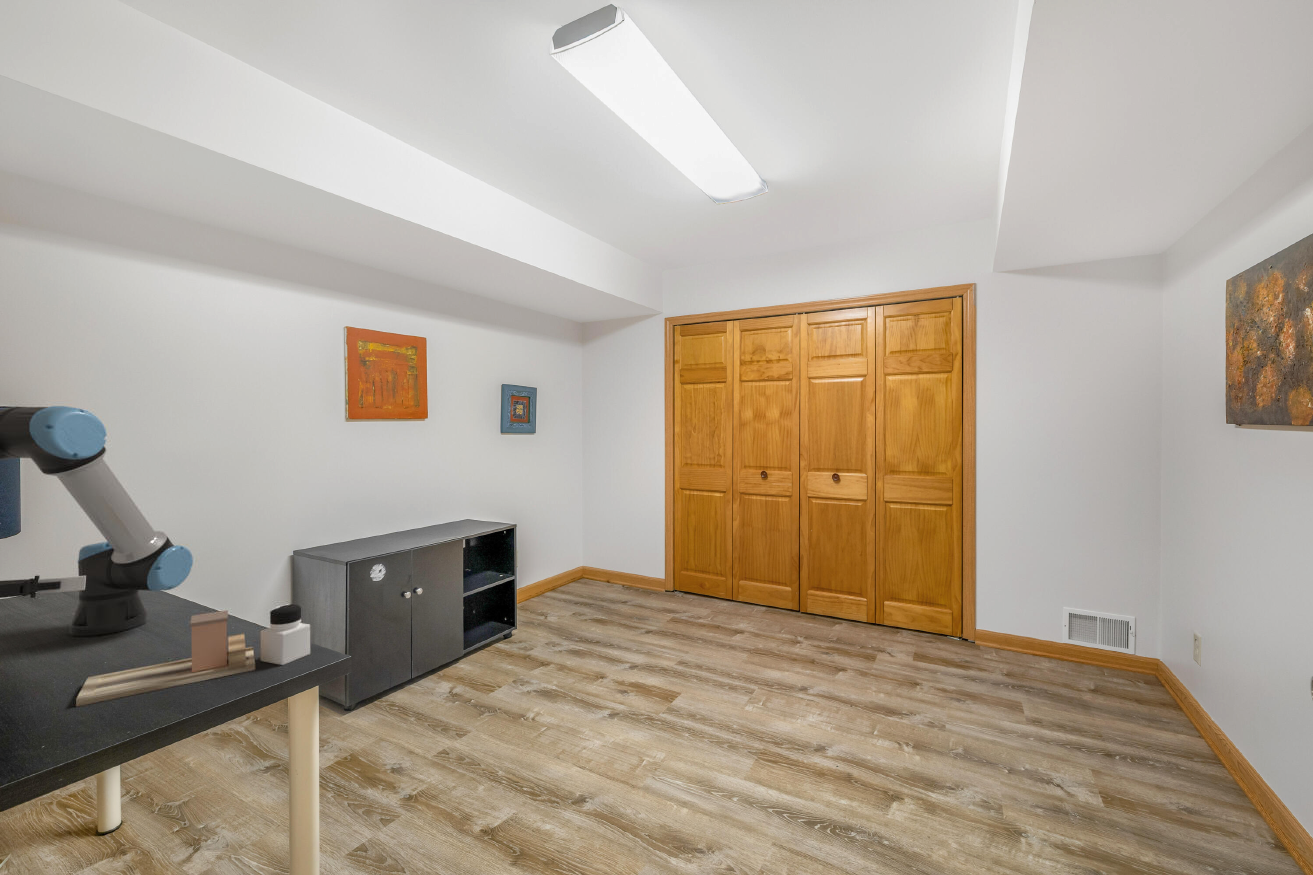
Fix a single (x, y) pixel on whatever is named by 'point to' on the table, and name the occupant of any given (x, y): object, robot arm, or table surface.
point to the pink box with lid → (209, 640)
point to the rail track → (164, 675)
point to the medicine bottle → (285, 636)
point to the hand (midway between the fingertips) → (85, 582)
